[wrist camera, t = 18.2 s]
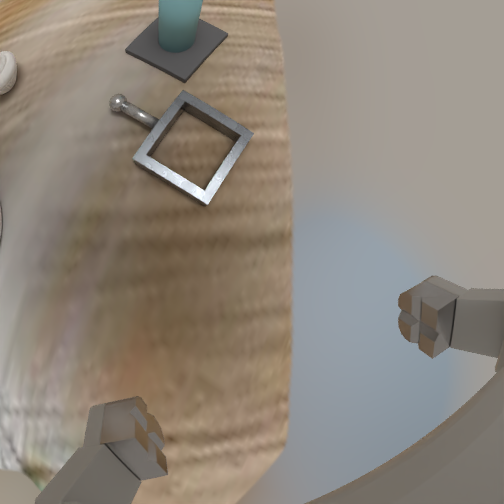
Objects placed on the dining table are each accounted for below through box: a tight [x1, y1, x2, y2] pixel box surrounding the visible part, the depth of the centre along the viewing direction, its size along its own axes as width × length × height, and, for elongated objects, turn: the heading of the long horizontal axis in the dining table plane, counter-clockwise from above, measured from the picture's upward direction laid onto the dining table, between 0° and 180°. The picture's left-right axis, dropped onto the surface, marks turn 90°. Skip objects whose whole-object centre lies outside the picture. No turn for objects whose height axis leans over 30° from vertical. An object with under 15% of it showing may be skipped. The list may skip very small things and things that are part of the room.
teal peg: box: [159, 0, 203, 53], centre depth 24 cm, size 4×4×10 cm
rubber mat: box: [125, 17, 228, 83], centre depth 29 cm, size 9×9×1 cm
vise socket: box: [109, 90, 254, 206], centre depth 29 cm, size 16×9×2 cm, turn 59°
